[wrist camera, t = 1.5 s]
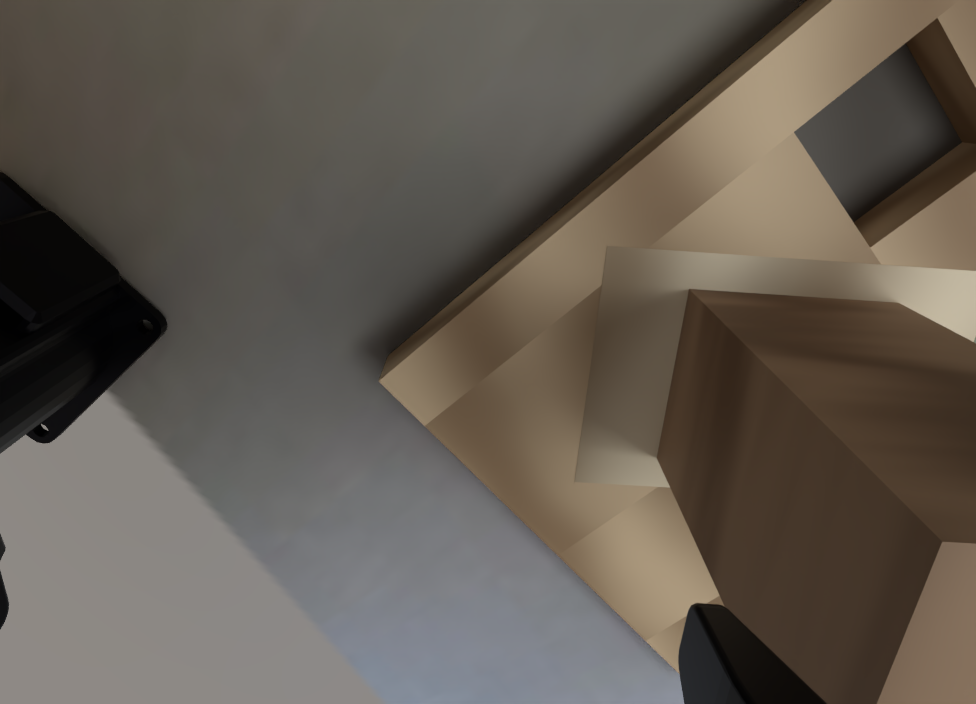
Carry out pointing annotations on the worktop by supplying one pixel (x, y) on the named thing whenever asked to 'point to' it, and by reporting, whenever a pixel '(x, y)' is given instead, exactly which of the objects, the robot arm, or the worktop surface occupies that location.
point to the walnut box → (833, 486)
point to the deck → (704, 278)
